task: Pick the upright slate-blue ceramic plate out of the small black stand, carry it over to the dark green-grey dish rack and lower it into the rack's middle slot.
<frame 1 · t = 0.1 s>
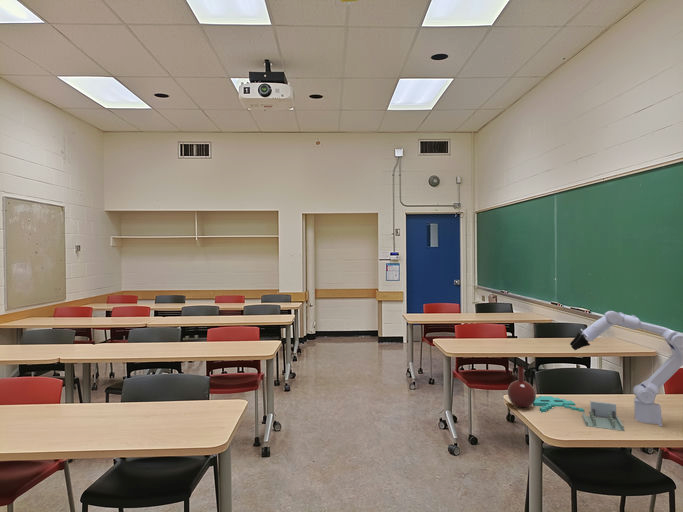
hand: (572, 347, 191), 32 cm above the table, tool tilted 50°, fingers open, 7 cm apart
alien figure: (553, 407, 200), on the table
rack: (602, 425, 175), on the table
stand: (603, 417, 184), on the table
plate: (603, 415, 184), point 1 cm above the table, touching stand
round-bottom flask: (521, 407, 199), on the table
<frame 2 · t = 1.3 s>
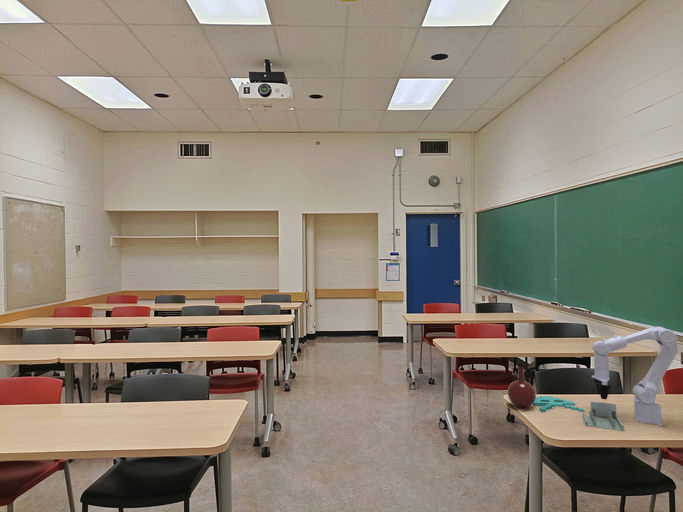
hand: (602, 396, 184), 10 cm above the table, tool pointing down, fingers open, 7 cm apart
nothing on the table moved.
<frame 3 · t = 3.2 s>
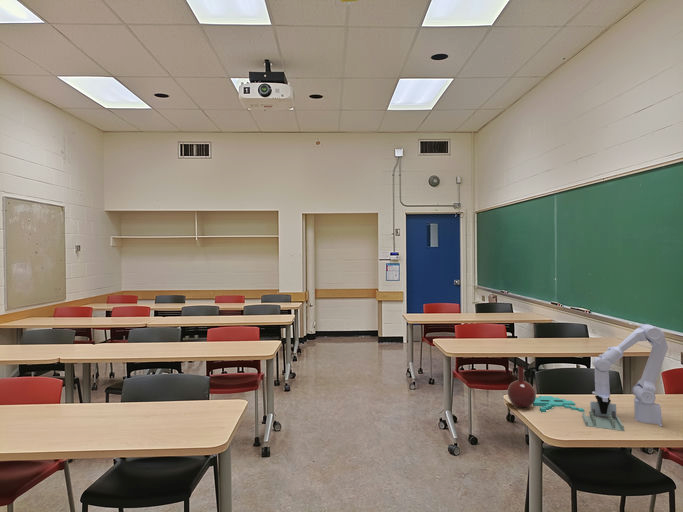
hand: (603, 412, 184), 2 cm above the table, tool pointing down, fingers closed on plate, 1 cm apart
plate: (603, 415, 184), point 1 cm above the table, touching gripper, stand
everything else where it was.
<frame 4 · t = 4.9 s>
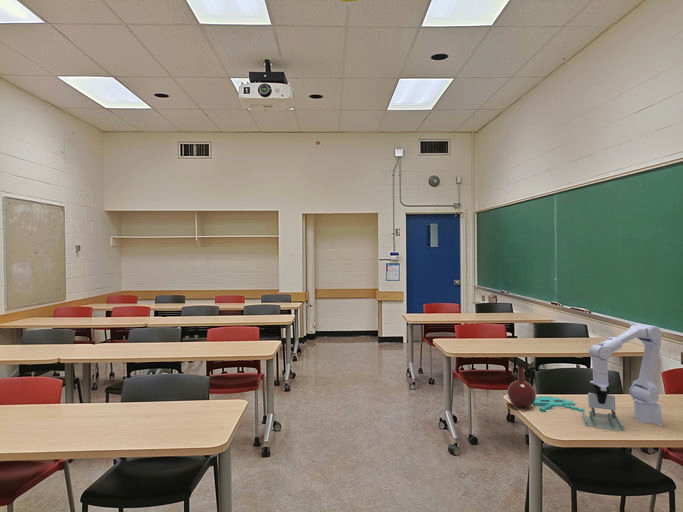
hand: (601, 402, 175), 10 cm above the table, tool pointing down, fingers closed on plate
plate: (601, 408, 175), point 7 cm above the table, touching gripper
everything else where it was.
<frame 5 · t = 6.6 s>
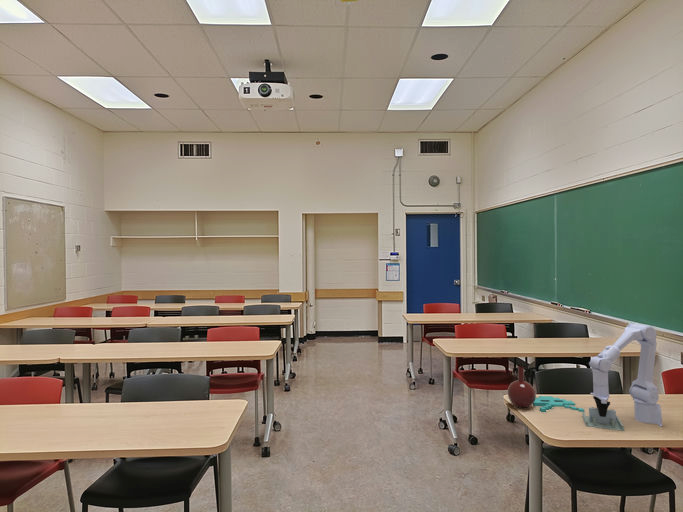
hand: (601, 415, 175), 4 cm above the table, tool pointing down, fingers open, 3 cm apart
plate: (602, 422, 175), point 1 cm above the table, touching rack
everything else where it was.
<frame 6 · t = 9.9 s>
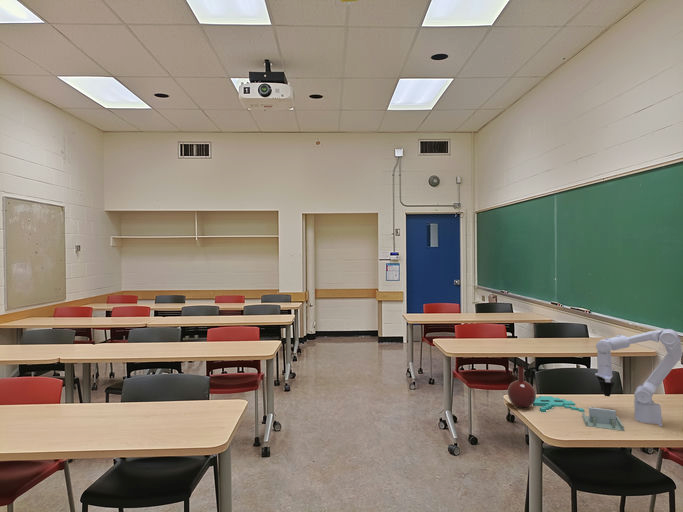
hand: (605, 393, 188), 10 cm above the table, tool pointing down, fingers open, 7 cm apart
nothing on the table moved.
at the end: plate 0.1 cm off-centre on the rack, point 1.0 cm above the rack's base; plate tilted 0°; the gripper is holding nothing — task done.
